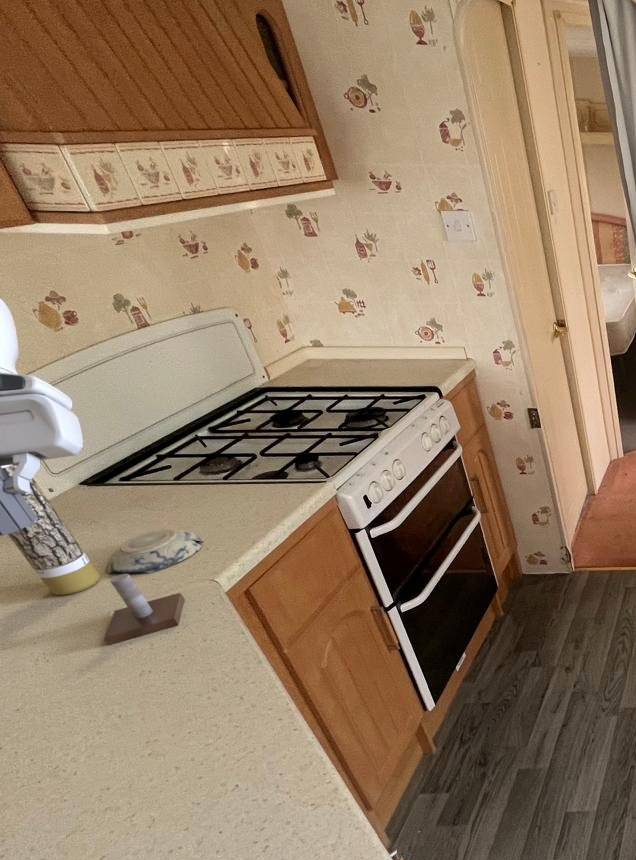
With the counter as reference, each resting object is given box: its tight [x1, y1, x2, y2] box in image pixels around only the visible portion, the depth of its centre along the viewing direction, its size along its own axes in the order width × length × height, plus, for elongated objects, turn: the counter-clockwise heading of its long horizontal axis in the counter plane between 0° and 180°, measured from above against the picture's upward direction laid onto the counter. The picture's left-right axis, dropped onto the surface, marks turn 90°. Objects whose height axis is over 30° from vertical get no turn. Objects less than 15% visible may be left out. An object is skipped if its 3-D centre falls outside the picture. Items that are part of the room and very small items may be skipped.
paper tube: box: [1, 464, 101, 596], centre depth 118 cm, size 7×7×25 cm
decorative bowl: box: [105, 528, 204, 574], centre depth 132 cm, size 15×4×15 cm
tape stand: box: [103, 573, 186, 646], centre depth 112 cm, size 9×9×9 cm
